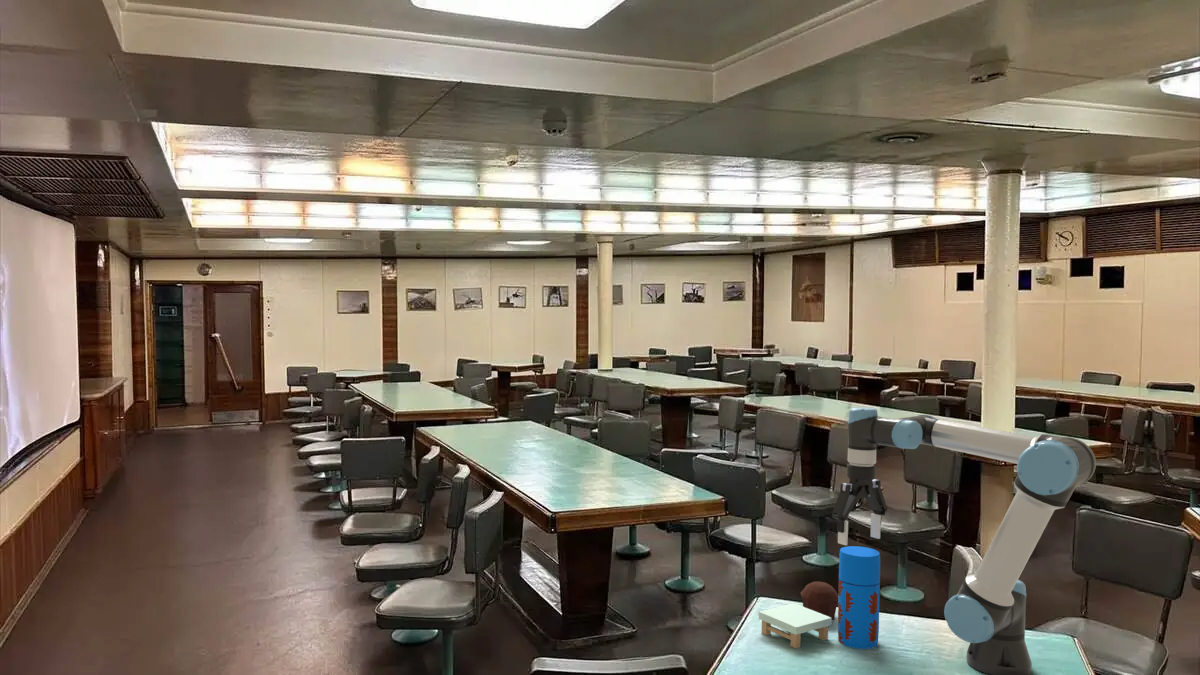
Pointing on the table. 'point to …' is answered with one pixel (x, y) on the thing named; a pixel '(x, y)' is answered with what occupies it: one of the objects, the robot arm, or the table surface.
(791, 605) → the footstool
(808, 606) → the muffin
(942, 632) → the table surface
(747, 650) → the table surface
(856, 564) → the thermos
